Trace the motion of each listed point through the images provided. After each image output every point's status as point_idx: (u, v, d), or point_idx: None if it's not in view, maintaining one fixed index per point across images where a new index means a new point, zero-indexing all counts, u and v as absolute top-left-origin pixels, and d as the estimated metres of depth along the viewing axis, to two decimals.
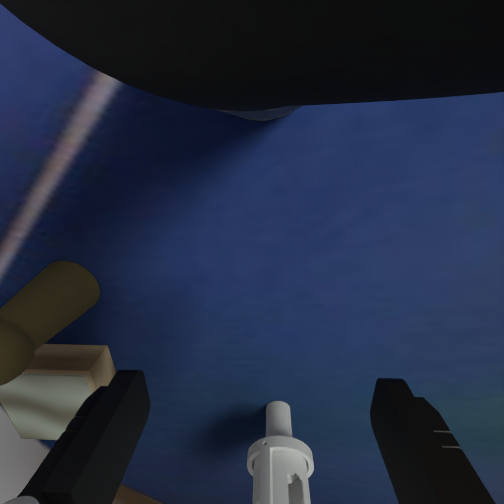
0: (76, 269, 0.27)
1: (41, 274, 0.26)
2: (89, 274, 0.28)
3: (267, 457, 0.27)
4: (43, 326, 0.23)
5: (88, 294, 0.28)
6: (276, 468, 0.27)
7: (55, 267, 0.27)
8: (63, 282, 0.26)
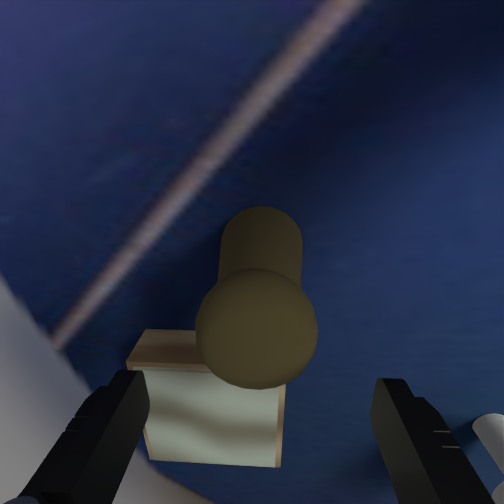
0: (286, 217, 0.19)
1: (250, 220, 0.17)
2: (297, 227, 0.20)
3: None
4: None
5: None
6: None
7: (261, 212, 0.18)
8: (287, 232, 0.17)
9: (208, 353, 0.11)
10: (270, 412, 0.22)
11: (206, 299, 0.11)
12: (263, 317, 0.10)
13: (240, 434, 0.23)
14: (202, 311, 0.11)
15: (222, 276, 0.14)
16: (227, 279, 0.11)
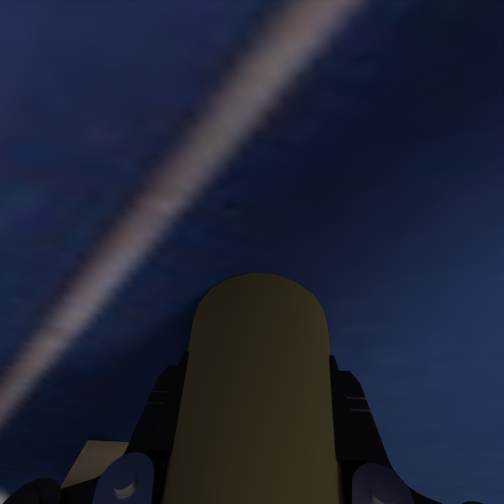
0: (301, 294, 0.11)
1: (237, 310, 0.10)
2: (319, 306, 0.12)
3: None
4: None
5: None
6: None
7: (258, 290, 0.10)
8: (306, 335, 0.09)
9: None
10: None
11: None
12: None
13: None
14: None
15: (166, 497, 0.06)
16: None
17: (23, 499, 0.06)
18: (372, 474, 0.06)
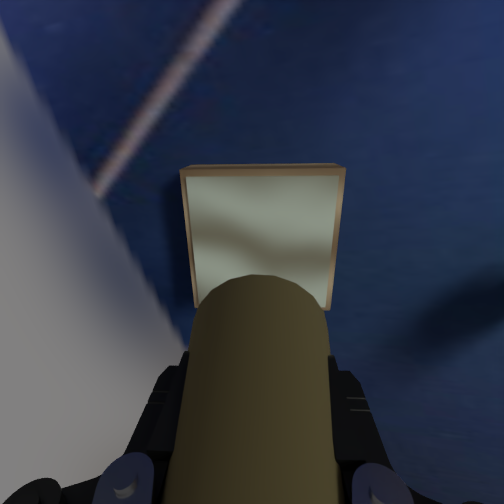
0: (301, 296, 0.11)
1: (237, 312, 0.10)
2: (319, 307, 0.12)
3: None
4: None
5: None
6: None
7: (258, 292, 0.10)
8: (306, 337, 0.09)
9: None
10: (326, 228, 0.21)
11: None
12: None
13: (292, 262, 0.22)
14: None
15: (166, 499, 0.06)
16: None
17: (24, 499, 0.06)
18: (372, 474, 0.06)
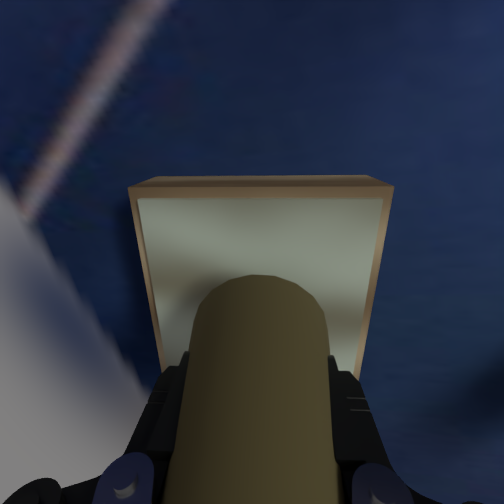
0: (301, 296, 0.11)
1: (237, 312, 0.10)
2: (319, 307, 0.12)
3: None
4: None
5: None
6: None
7: (258, 292, 0.10)
8: (306, 337, 0.09)
9: None
10: (357, 278, 0.14)
11: None
12: None
13: None
14: None
15: (166, 500, 0.06)
16: None
17: (24, 499, 0.06)
18: (372, 474, 0.06)
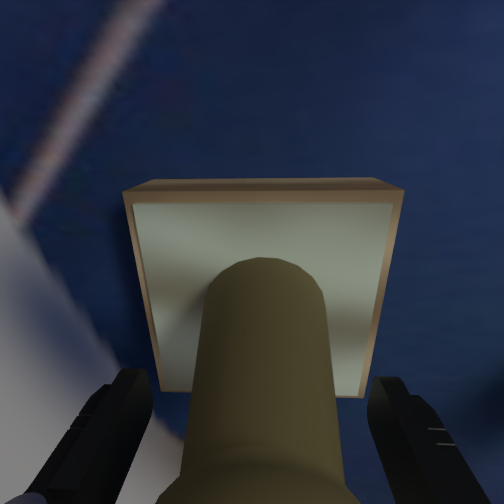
0: (302, 276, 0.12)
1: (246, 288, 0.11)
2: (318, 287, 0.13)
3: None
4: (340, 449, 0.07)
5: None
6: None
7: (264, 271, 0.12)
8: (307, 308, 0.10)
9: None
10: (365, 286, 0.13)
11: None
12: None
13: None
14: None
15: (192, 428, 0.07)
16: None
17: None
18: None
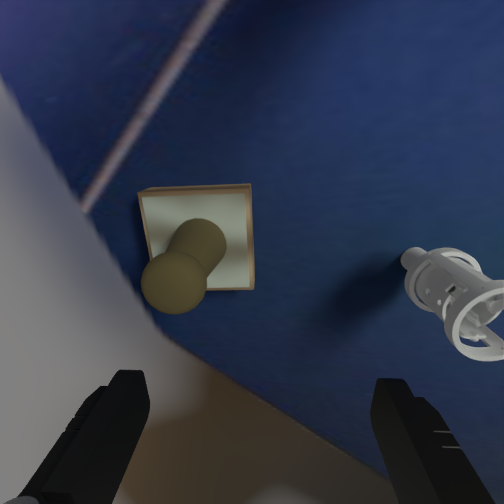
0: (211, 225, 0.30)
1: (185, 227, 0.28)
2: (220, 230, 0.30)
3: (442, 258, 0.27)
4: (206, 265, 0.25)
5: (222, 248, 0.30)
6: None
7: (194, 222, 0.29)
8: (208, 233, 0.28)
9: (146, 292, 0.21)
10: (241, 230, 0.30)
11: (146, 266, 0.22)
12: (169, 271, 0.21)
13: None
14: (143, 271, 0.22)
15: None
16: (156, 256, 0.22)
17: None
18: None
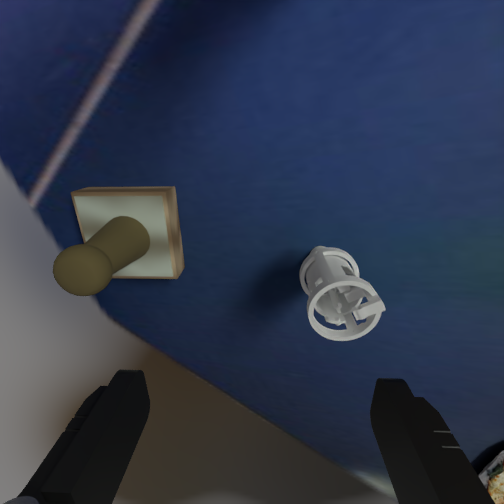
0: (134, 222, 0.35)
1: (109, 223, 0.33)
2: (143, 227, 0.35)
3: (321, 256, 0.32)
4: (117, 257, 0.30)
5: (143, 242, 0.35)
6: (330, 262, 0.31)
7: (118, 219, 0.34)
8: (127, 229, 0.33)
9: (56, 277, 0.26)
10: (161, 227, 0.35)
11: None
12: (72, 261, 0.26)
13: None
14: None
15: None
16: (67, 248, 0.27)
17: None
18: None
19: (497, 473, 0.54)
